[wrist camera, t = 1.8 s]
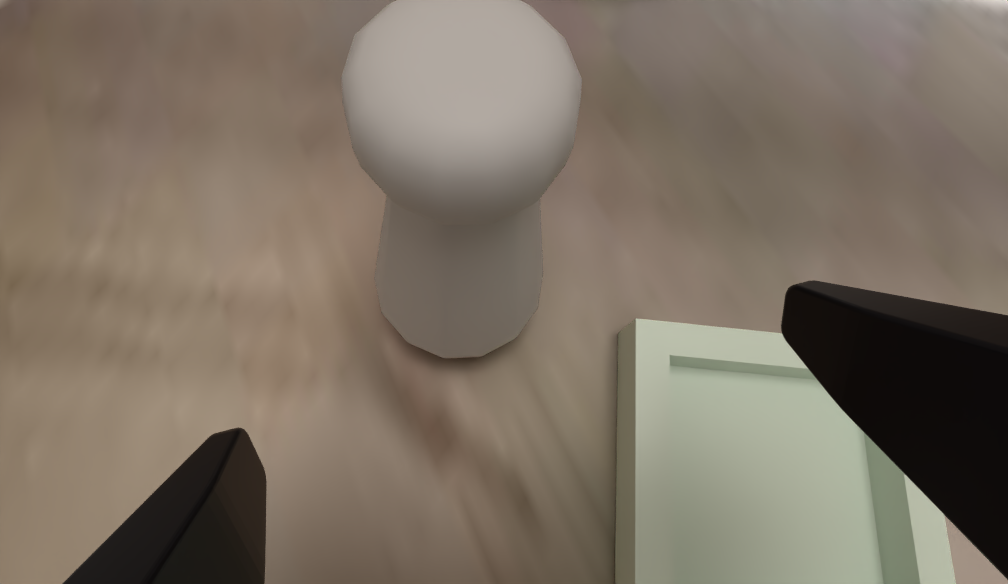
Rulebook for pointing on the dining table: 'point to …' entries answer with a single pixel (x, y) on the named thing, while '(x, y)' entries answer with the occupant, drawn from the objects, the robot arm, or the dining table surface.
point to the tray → (754, 471)
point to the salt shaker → (460, 161)
